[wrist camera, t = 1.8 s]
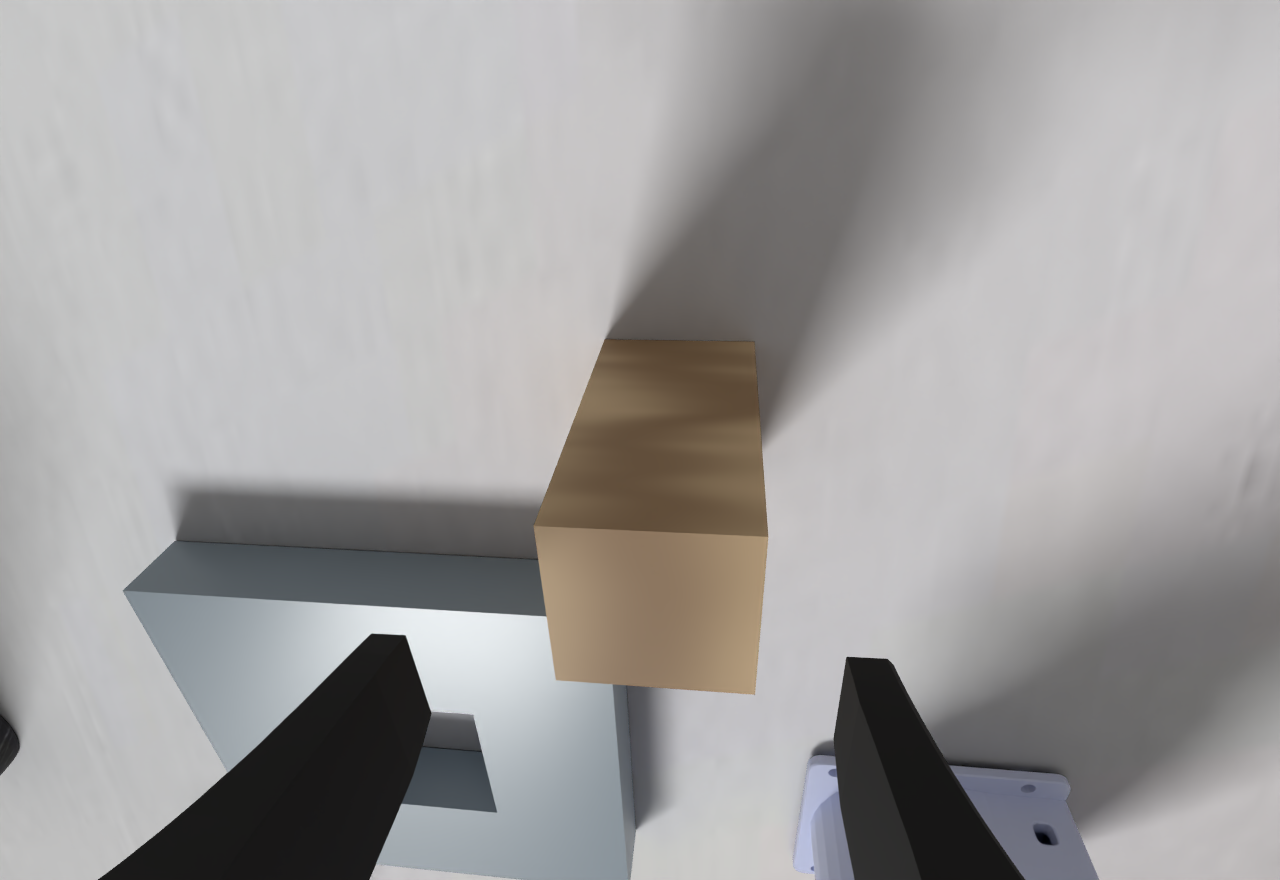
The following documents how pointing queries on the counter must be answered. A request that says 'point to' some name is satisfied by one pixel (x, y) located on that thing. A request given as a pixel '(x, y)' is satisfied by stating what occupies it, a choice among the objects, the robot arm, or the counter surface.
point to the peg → (659, 521)
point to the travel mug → (7, 745)
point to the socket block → (451, 678)
